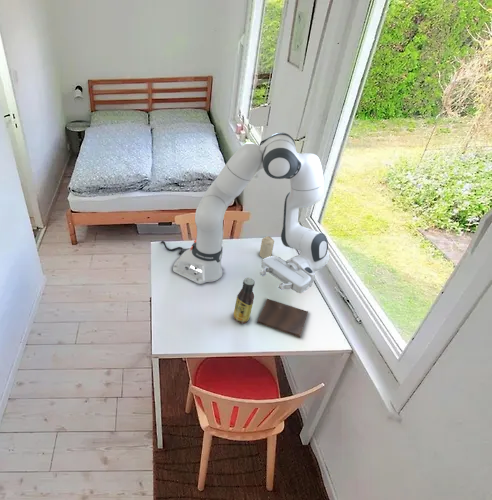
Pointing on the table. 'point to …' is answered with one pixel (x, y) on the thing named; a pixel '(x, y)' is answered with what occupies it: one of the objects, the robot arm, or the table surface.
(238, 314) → the sauce bottle
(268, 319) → the serving board
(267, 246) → the candle
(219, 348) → the table surface
